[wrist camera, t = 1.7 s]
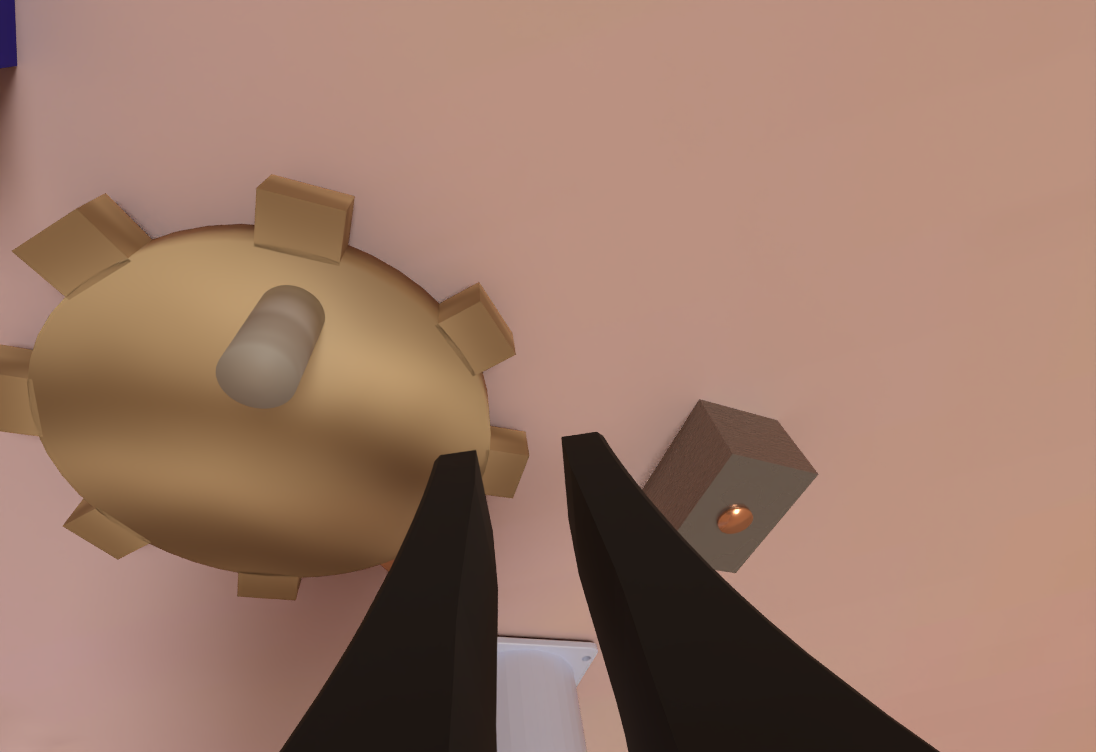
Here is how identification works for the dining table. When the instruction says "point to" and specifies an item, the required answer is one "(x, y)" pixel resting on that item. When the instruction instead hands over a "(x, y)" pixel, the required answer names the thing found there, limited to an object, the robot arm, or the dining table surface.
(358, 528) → the sprocket wheel
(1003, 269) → the dining table surface
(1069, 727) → the dining table surface
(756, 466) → the link block
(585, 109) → the dining table surface
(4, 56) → the cable clip
